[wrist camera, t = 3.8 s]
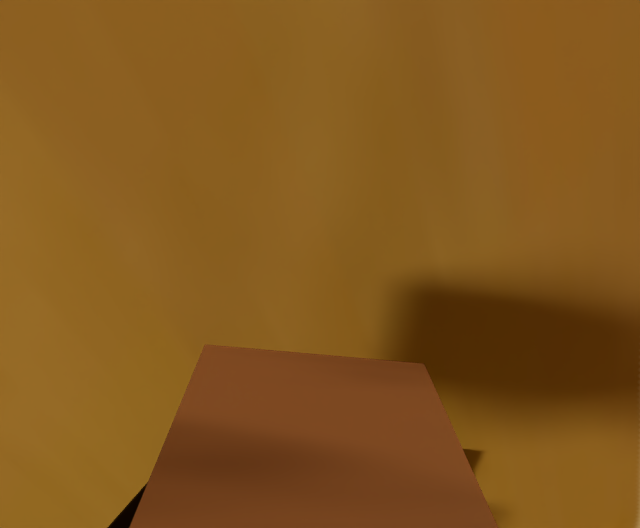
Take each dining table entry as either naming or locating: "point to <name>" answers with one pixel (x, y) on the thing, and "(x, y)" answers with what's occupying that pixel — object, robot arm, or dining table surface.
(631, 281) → the dining table surface
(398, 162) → the dining table surface
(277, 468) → the top block
